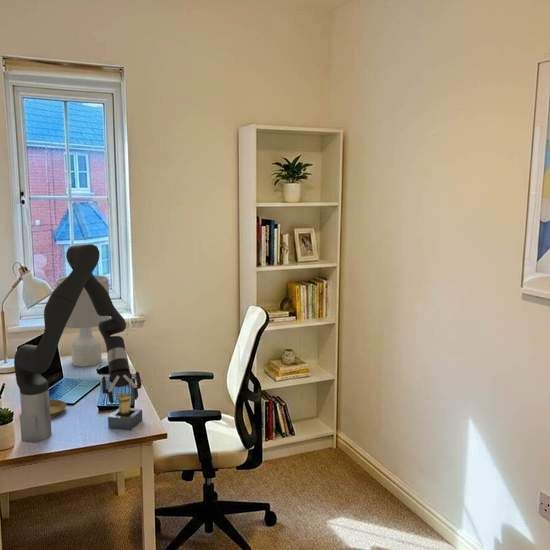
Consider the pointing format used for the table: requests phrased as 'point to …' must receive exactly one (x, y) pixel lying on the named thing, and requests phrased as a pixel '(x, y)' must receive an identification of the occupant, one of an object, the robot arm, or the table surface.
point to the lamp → (86, 327)
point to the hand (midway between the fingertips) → (124, 400)
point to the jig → (125, 420)
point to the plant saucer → (56, 407)
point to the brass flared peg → (124, 404)
